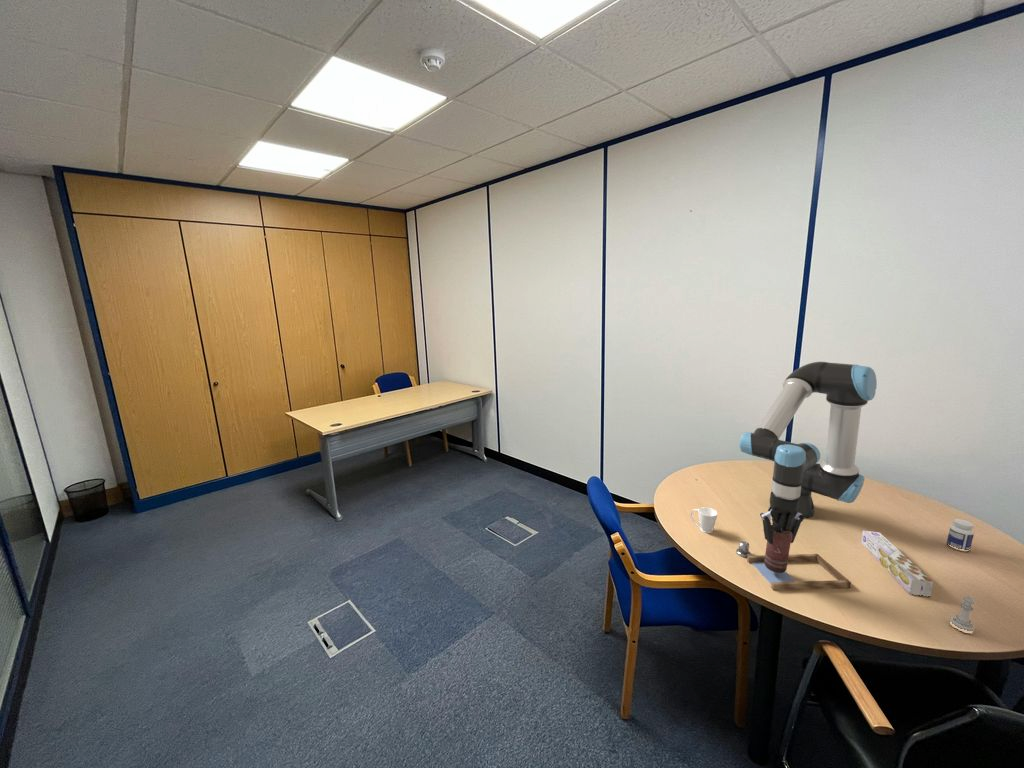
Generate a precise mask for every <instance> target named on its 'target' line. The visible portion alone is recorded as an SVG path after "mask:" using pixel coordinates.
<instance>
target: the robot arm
mask: <svg viewBox="0 0 1024 768" xmlns="http://www.w3.org/2000/svg"><path fill="white" fill-rule="evenodd" d="M877 385H878V384H877V375H876V373H875V370H874V369H873V368H872V367H871V366H870V367H869V366H865V365H859V364H849V363H840V362H839V363H837V362H828V361H813V362H810V363H807V364H804V365H802V366H800V367H799V368H796V369H795V370H794V371H792V372H791V373H790V374H789V375H788V376H787V377H786V378H785V380H784V381H783V383H782V390H781V391H780V393H779V394H778V396H777V397H776V399H775V400H774V402H773V403H772V404H771V406H770V407H769V409H768V411H767V412H766V413H765V416H764V417H763V418H762V419H761V421H760V423H759V425H757V427H756V429H755V430H754V431H753V432H750V431H749V432H748V431H746V432H744V433H742V434H741V436H740V438H739V442H738V443H739V444H738V445H739V446H738V447H739V451H741V452H742V453H745V454H747V455H749V456H751V457H757V458H761V459H763V460H768V461H771V462H774V464H773V473H772V478H771V479H772V480H771V490H770V491H771V492H770V496H769V508H768V509H767V512H765V513H763V512H761V513H760V514H759V516H760V517H761V520H762V527H763V534H764V540H766V542H767V541H768V542H769V543H770V544H772V543H773V535H772V529H773V530H774V531H776V532H781V529H782V530H783V531H789V530H790V531H791V533H792V541H791V543H790V544H793V543H794V542H795V539H796V536H797V534H798V531H799V529H800V526H801V523H802V522H803V521H804V520H805V518H811V517H813V516H814V514H815V504H814V500H813V497H812V493H813V494H816V495H821V496H824V497H827V498H830V499H832V500H833V499H834V500H836V501H838V502H839V501H840V502H843V503H848V504H851V503H854V502H855V501H856V500H857V499H858V496H859V494H860V492H861V491H862V488H863V485H864V482H865V476H864V475H862V474H860V473H859V472H860V469H859V466H857V465H856V464H855V461H856V453H857V447H858V439H859V438H858V436H859V429H860V419H861V412H862V407H864V406H866V405H867V404H868V401H872V400H873V399H874V398H875V396H876V392H877V391H876V390H877ZM814 393H818V394H824V395H825V400H826V402H827V403H828V404H829V405H830V408H829V409H830V410H829V420H828V429H827V439H826V440H827V442H826V450H825V451H826V452H825V460H822V461H820V459H821V453H820V450H819V449H818V447H817V446H816V445H814V444H812V443H810V442H800V443H794V442H790V441H786V440H783V439H780V438H781V436H782V435H783V433H784V432H785V430H786V429H787V427H788V426H789V424H790V422H791V420H793V417H794V416H795V415H796V413H797V411H798V410H799V408H800V407H801V405H802V404H803V403H804V401H805V399H807V398H810V397H811V396H812V394H814ZM819 461H820V463H818V462H819ZM771 521H772V523H771ZM771 525H772V527H771Z"/></svg>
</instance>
